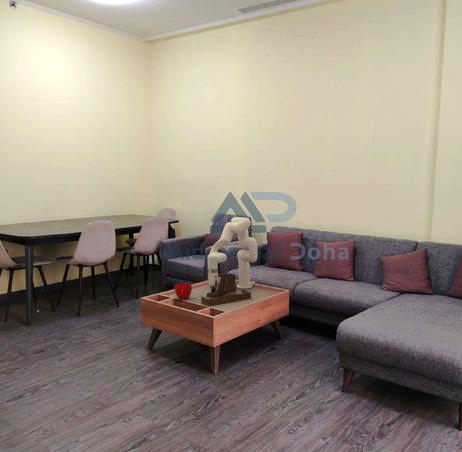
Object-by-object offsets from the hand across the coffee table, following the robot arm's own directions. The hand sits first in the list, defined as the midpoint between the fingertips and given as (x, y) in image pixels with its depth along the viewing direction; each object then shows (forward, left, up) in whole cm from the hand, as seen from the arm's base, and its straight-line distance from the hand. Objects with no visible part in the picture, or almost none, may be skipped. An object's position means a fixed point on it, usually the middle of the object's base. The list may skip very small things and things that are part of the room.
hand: (213, 293), depth 348 cm
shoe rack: (-4, +14, -3) cm, 15 cm away
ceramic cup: (+21, -8, -3) cm, 23 cm away
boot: (-2, +9, -3) cm, 9 cm away
